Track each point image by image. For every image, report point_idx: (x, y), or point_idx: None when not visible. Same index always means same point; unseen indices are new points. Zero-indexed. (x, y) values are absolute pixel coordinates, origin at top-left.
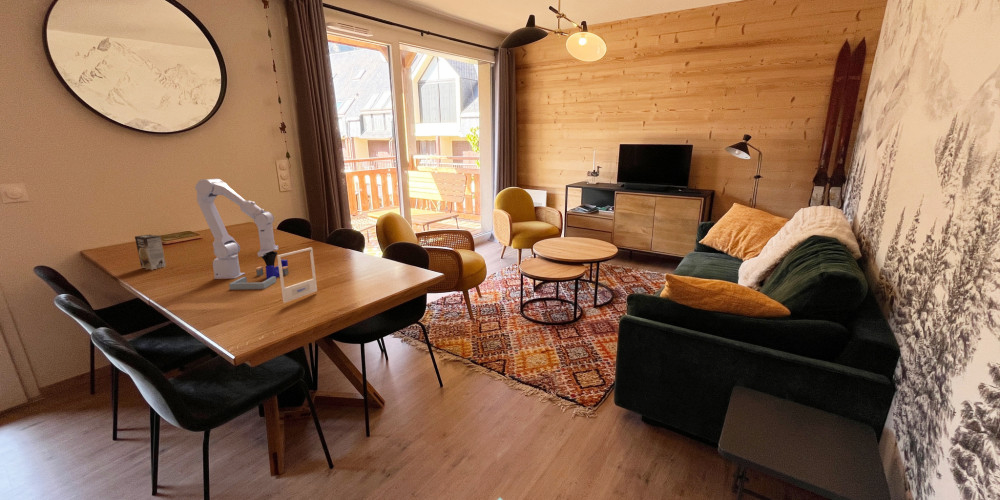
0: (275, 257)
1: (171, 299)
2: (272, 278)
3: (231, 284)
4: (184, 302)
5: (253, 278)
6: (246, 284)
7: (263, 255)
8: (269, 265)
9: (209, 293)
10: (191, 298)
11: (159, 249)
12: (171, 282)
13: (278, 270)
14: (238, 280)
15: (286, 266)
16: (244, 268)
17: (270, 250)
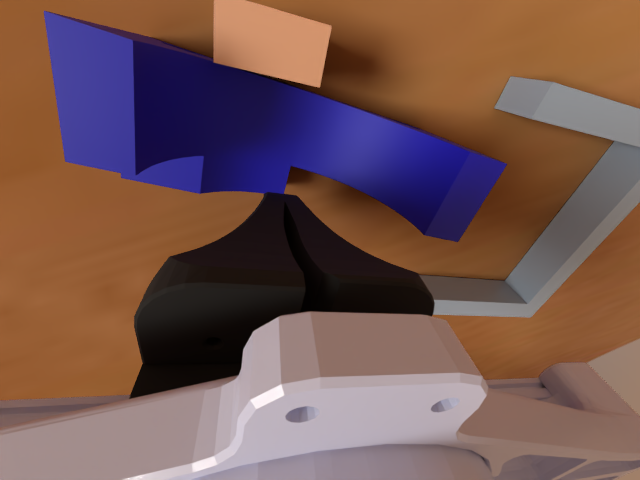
0: (232, 237)
1: None
2: (602, 97)
3: (536, 306)
4: (570, 349)
5: None
6: (594, 240)
7: (571, 371)
8: (439, 213)
9: (512, 334)
10: (537, 352)
11: None
12: None
13: (251, 136)
14: (488, 305)
15: (240, 17)
16: (72, 390)
17: (514, 421)
